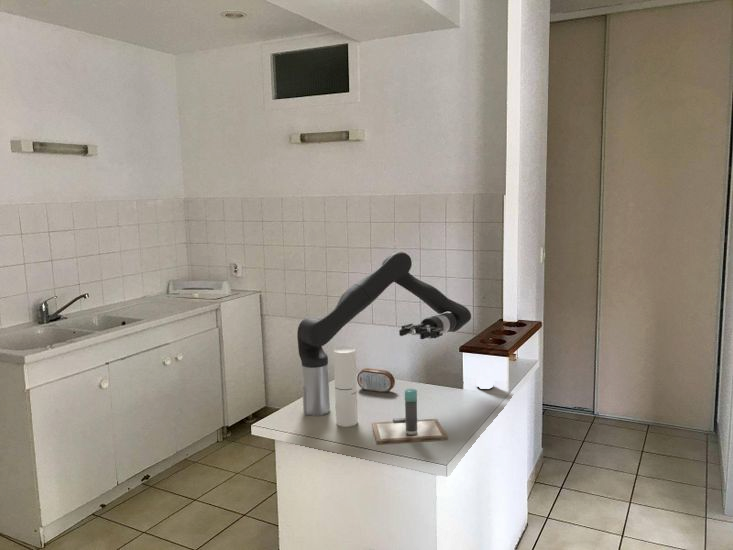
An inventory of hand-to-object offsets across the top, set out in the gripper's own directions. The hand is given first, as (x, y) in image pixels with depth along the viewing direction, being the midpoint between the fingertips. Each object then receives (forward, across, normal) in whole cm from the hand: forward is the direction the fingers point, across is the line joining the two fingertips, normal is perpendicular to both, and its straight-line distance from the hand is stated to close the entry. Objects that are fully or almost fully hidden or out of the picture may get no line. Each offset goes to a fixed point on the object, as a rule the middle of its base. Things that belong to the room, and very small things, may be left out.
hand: (410, 334), depth 208 cm
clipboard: (+15, +9, +28) cm, 33 cm away
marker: (+18, +12, +27) cm, 34 cm away
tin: (-11, -24, +28) cm, 38 cm away
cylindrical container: (+20, -12, +28) cm, 37 cm away
